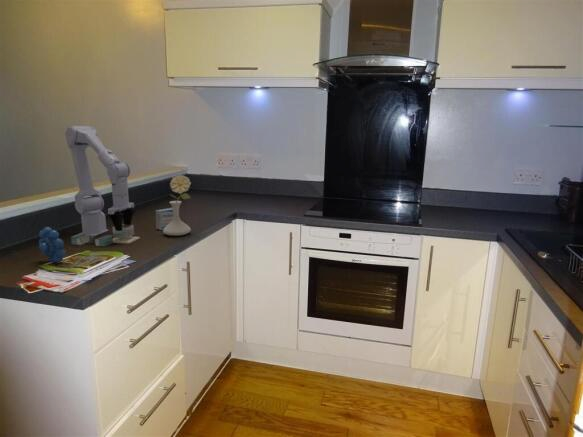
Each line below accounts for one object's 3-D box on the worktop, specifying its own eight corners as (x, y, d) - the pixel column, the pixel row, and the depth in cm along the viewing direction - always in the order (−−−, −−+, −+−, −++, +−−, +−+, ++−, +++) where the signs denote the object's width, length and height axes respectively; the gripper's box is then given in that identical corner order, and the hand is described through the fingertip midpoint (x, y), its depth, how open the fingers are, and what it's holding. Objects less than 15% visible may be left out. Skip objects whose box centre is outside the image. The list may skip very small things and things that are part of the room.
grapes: (30, 263, 140) (25, 227, 137) (49, 258, 146) (45, 223, 143) (52, 269, 135) (47, 232, 132) (71, 263, 140) (67, 227, 138)
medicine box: (161, 231, 184) (160, 211, 182) (156, 229, 187) (154, 209, 185) (177, 227, 190) (176, 208, 188) (172, 226, 193) (170, 207, 191)
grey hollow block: (121, 233, 171) (120, 224, 171) (134, 234, 170) (133, 224, 170) (113, 237, 166) (112, 227, 165) (126, 238, 165) (125, 228, 164)
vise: (80, 241, 167) (79, 233, 167) (113, 243, 165) (112, 235, 164) (71, 244, 162) (70, 236, 162) (105, 246, 160) (104, 238, 159)
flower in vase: (157, 236, 174) (153, 175, 169) (172, 230, 185) (169, 172, 180) (186, 239, 171) (183, 176, 166) (199, 232, 182) (197, 173, 176)
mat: (119, 237, 173) (119, 235, 173) (140, 238, 172) (139, 236, 171) (107, 242, 166) (107, 240, 165) (128, 243, 164) (128, 242, 164)
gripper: (118, 197, 157) (121, 233, 160) (139, 192, 171) (142, 225, 174) (101, 197, 158) (104, 232, 161) (123, 191, 172) (126, 224, 175)
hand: (123, 228), depth 168 cm, fingers closed on grey hollow block, 6 cm apart
